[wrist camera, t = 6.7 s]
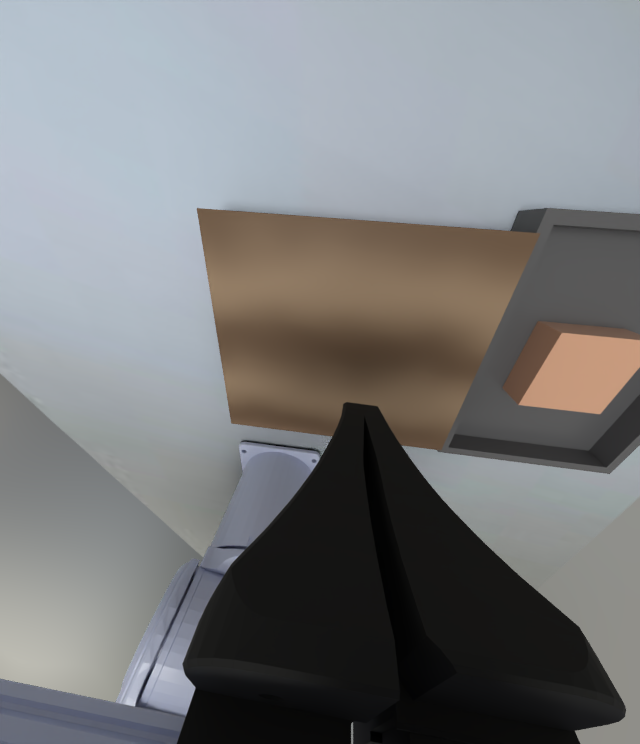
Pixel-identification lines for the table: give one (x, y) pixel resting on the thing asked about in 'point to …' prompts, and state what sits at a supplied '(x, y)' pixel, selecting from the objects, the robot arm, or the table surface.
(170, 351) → the table surface
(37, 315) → the table surface
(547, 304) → the tray
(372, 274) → the platform
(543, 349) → the tile
